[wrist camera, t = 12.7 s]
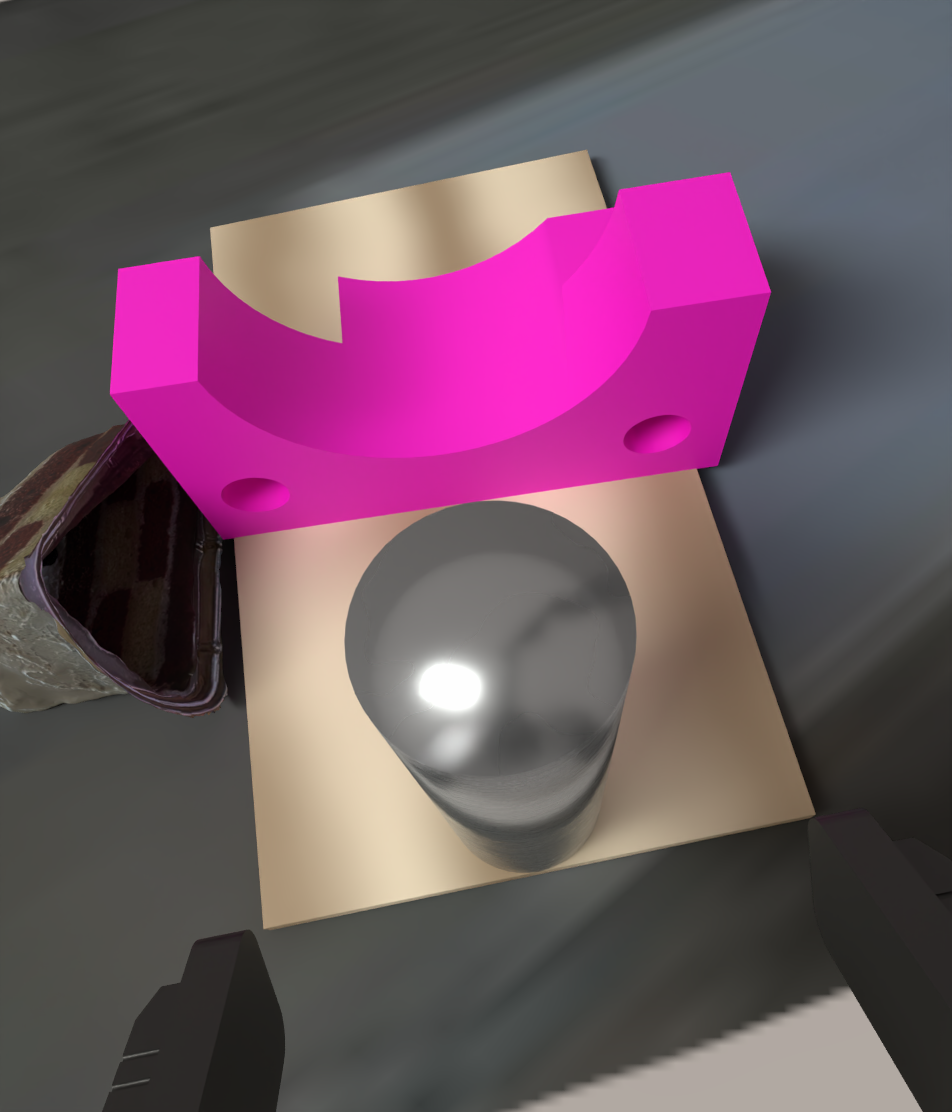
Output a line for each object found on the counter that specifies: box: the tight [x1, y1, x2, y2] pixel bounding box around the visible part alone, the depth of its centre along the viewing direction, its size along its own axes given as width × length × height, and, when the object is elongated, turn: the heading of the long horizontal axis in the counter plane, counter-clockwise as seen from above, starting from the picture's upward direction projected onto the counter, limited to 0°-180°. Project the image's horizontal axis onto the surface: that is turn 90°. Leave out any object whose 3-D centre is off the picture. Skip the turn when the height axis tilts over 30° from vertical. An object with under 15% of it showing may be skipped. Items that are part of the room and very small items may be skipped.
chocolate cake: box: [0, 419, 228, 718], centre depth 26 cm, size 10×7×12 cm
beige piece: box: [210, 150, 815, 930], centre depth 22 cm, size 14×24×13 cm, turn 11°
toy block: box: [110, 172, 771, 540], centre depth 25 cm, size 15×6×8 cm, turn 97°
